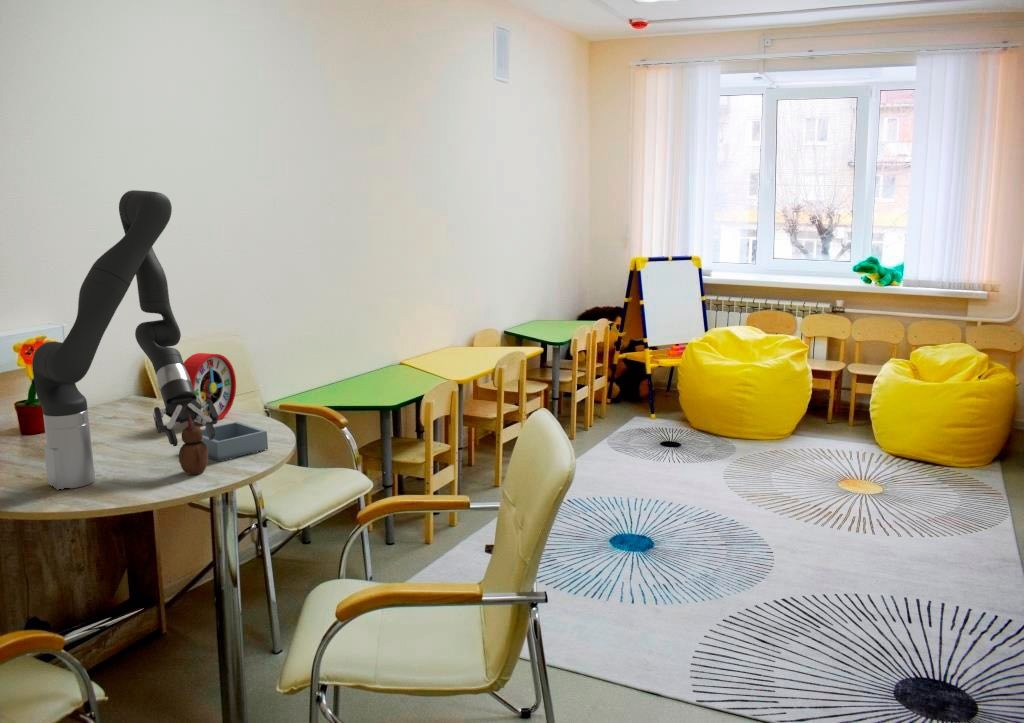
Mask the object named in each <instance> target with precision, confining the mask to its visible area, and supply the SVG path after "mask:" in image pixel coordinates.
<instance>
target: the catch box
mask: <svg viewBox="0 0 1024 723" xmlns="http://www.w3.org/2000/svg"><path fill="white" fill-rule="evenodd" d="M213 427H214V430H215V436H214V438H213V440H209V437H208V434H207V431H206V429H205V428H200V429H201V430H202V440H201V441H203V442H204V443H205V444H206V446H207V449H208V457H209V458H208V459H210V458H211V460H213V461H215V460H216V462H219V461H220V462H223V461H222V460H224V461H227V460H226V459H228V460H231V459H230V458H232V459H235V458H234V457H236V458H238V457H237V456H240V457H242V456H241V455H244V456H246V455H245V454H248V455H251V454H250V453H252V454H255V453H254V452H257V451H261V452H263V451H262V450H265V449H268V450H269V446H268V445H269V444H268V442H269V441H268V431H267V430H264V429H262V428H258V427H255V426H252V425H249V424H246V423H242V422H240V421H234V422H228V423H224V424H220V425H213ZM265 451H266V450H265ZM257 453H258V452H257Z"/></svg>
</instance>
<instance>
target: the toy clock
mask: <svg viewBox="0 0 1024 723" xmlns="http://www.w3.org/2000/svg"><path fill="white" fill-rule="evenodd" d="M183 363H184V366H185V369H186V371H187V372H188V374H189V377H190V380H191V383H192V386H193V389H194V392H195V394H196V397H197V400H198V401H199V402H200V403H202V402H207V400H208V399H211V400H212V402H213V405H214V407H215V409H216V412H217V414H218V416H219V418H218V420H219V421H221V420H222V419H223V418H225V417H226V415H227V414H228V413H229V412H230V410H231V408H232V406H233V404H234V401H235V398H236V391H237V378H236V373H235V369H234V368H233V365H232V363H231V361H230V360H229V359H228V358H227V357H226V356H225V355H223V354H219V353H205V352H204V353H203V352H198V353H197V352H196V353H193V354H191V355H190V356H189V357H187V359H185V360H184V361H183ZM200 410H201V411H203V412H204V413H205V415H206V416H208V417H209V414H208V412H207V411H205V410H204V409H203V408H201V409H200ZM197 416H198V415H197ZM198 417H199V416H198ZM209 418H210V417H209ZM220 419H221V420H220ZM218 420H217V422H219V421H218ZM194 421H195V420H193V422H194ZM195 422H196V421H195Z"/></svg>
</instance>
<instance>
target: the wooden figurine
mask: <svg viewBox="0 0 1024 723" xmlns="http://www.w3.org/2000/svg"><path fill="white" fill-rule="evenodd" d="M187 425H188V426H187V427H183V429H182V432H181V440H182V442H183V443H184V444H182V446H181V447H180V448H179V452H178V461H179V464H180V466H181V469H182V471H183V472H184V473H185V474H187V475H198V473H199V474H201V473H203V472H204V471H205V470H206V468H207V466H208V461H209V458H208V449H207V446H206V444H205V443H204V442H203V441H201V440H202V430H201V429H202V428H201V427H199V426H195V425H194V420H192V417H191V414H188V422H187Z"/></svg>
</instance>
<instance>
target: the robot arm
mask: <svg viewBox="0 0 1024 723" xmlns="http://www.w3.org/2000/svg"><path fill="white" fill-rule="evenodd" d="M172 207H173V206H172V203H171V200H170V198H169V197H168V196H167V195H165V194H164V193H162V192H157V191H151V190H150V191H149V190H138V189H135V190H134V189H132V190H129V191H126V192H125V193H123V194H122V196H121V197H120V199H119V203H118V212H119V218H120V222H121V225H122V229H123V232H124V236H123V237H122V238H121V239H120V240H119V241H118V242H117V243H115V244H114V245H112V246H111V247H109V249H107V250H106V251H105V252H104V253H103V254H102V255H101V256H100V257H99V258H98V259H96V261H94V262H93V263H92V266H91V267H90V269H89V270H88V273H87V274H86V276H85V278H84V280H83V282H82V284H81V286H80V289H79V292H78V293H79V294H78V304H77V315H76V318H75V321H74V323H73V325H72V327H71V329H70V330H69V332H68V333H67V336H66V337H65V338H64V340H63V341H62V342H60V341H48V342H44V343H42V344H41V345H40V346H38V347H37V349H36V350H35V351H34V353H33V357H32V362H31V363H32V364H31V365H32V367H31V368H32V375H33V376H32V377H33V380H34V381H33V382H34V386H35V387H34V388H35V393H36V397H37V401H38V402H39V405H40V406H41V409H42V414H43V415H42V416H43V417H42V418H43V422H44V423H43V425H44V432H45V433H44V434H45V445H43V450H44V451H43V452H44V459H45V460H44V461H45V467H46V468H45V470H46V477H47V485H48V484H49V486H50V485H51V486H50V487H52V486H53V487H54V489H55V488H56V489H55V490H57V491H59V489H61V490H65V489H64V488H70V489H76V488H81V487H85V486H88V485H90V484H92V483H94V482H95V481H96V475H95V473H96V471H95V465H94V464H95V463H94V456H93V447H92V439H91V437H92V436H91V429H90V419H89V418H90V417H89V410H88V401H87V399H86V397H85V395H84V394H82V393H81V391H79V389H78V387H77V385H76V384H77V383H79V382H80V381H81V380H82V379H83V378H85V376H86V375H87V373H88V372H89V370H90V368H91V365H92V363H93V360H94V358H95V356H96V354H97V351H98V348H99V346H100V343H101V340H102V339H103V337H104V335H105V332H106V330H107V329H108V327H109V325H110V323H111V322H112V319H113V317H114V316H115V313H116V311H117V309H118V307H119V306H120V304H121V303H122V301H123V299H124V297H125V296H126V294H127V292H128V290H129V288H130V286H131V284H132V282H133V279H134V277H136V284H137V294H138V301H139V302H138V303H139V307H140V310H141V311H142V312H144V313H147V314H158V315H160V316H161V317H162V319H157V320H151V321H144V322H141V323H139V324H138V325H137V326H136V329H135V332H134V335H135V339H136V342H137V344H138V346H139V347H140V349H142V351H143V352H144V354H145V355H146V357H147V359H148V360H149V361H150V363H151V364H152V366H153V371H154V373H155V377H156V382H157V386H158V391H159V392H160V395H161V398H162V401H163V404H164V407H165V408H160V407H158V406H155V407H154V409H153V413H152V416H153V420H154V425H155V428H156V432H157V433H158V434H165V435H167V440H168V442H169V444H170V445H172V446H173V447H177V446H178V442H179V441H178V438H177V435H176V432H175V429H174V428H175V426H176V425H177V423H178V424H179V425H180V424H184V423H188V414H191V417H192V420H193V421H194V420H195V422H196V423H197V424H201V425H203V427H205V428H204V429H206V431H207V434H208V437H209V440H213V438H214V436H215V430H214V425H217V424H218V421H217V420H218V418H219V416H218V414H217V412H216V409H215V407H214V405H213V402H212V400H211V399H208V400H207V402H202V403H200V402H199V401H198V400H197V397H196V394H195V392H194V389H193V386H192V383H191V380H190V377H189V374H188V372H187V371H186V369H185V366H184V361H183V358H182V355H181V353H180V351H179V350H178V349H177V348H174V347H175V346H176V345H177V344H179V343H180V340H181V337H182V334H181V330H180V327H179V325H178V323H177V322H178V321H176V318H175V316H174V313H173V310H172V307H171V302H170V294H169V286H168V280H167V276H166V272H165V271H164V268H163V266H162V264H161V262H160V260H159V258H158V257H157V255H156V253H155V250H154V248H153V246H154V244H155V243H156V241H157V240H158V238H160V236H161V234H162V233H163V232H164V230H165V228H166V227H167V226H168V224H169V222H170V220H171V216H172V211H173V209H172ZM201 408H203V409H204V410H205V411H207V412H208V414H209V417H210V418H209V417H208V416H206V415H205V413H204V412H203V411H201V410H200V409H201ZM164 415H166V416H167V417H169V418H170V419H169V422H168V423H167V425H165V424H164V421H163V418H164ZM197 415H198V416H199V417H198V416H197ZM53 487H52V488H53Z"/></svg>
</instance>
